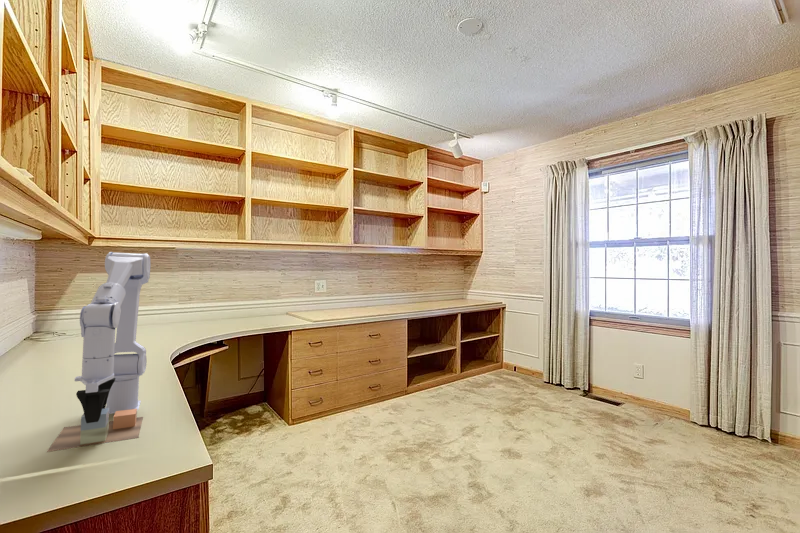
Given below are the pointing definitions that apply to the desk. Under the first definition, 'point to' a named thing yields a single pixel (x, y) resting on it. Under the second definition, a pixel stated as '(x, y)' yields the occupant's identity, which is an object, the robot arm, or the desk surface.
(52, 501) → the desk surface
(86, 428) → the brick slate
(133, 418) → the brick terracotta
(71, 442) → the build board
